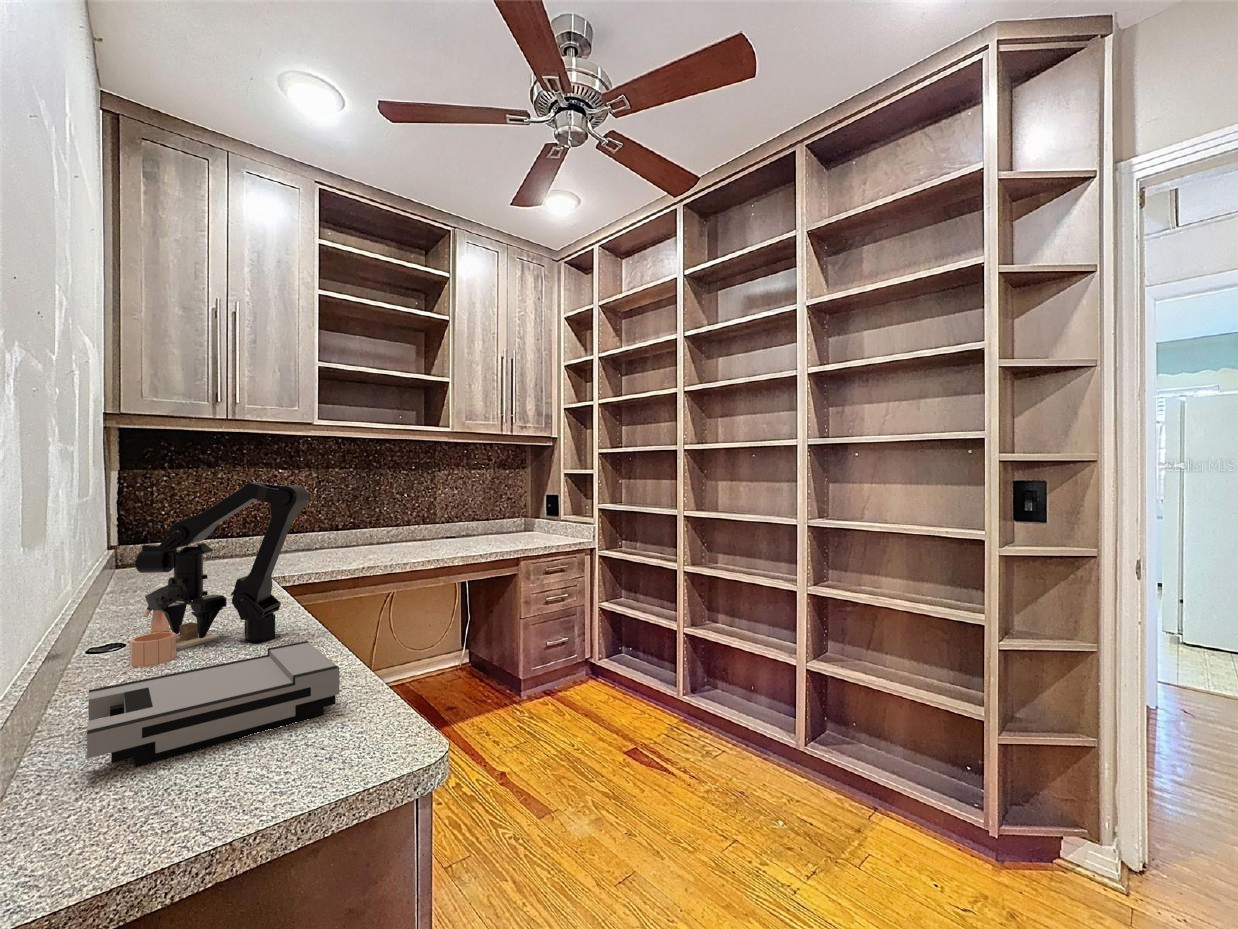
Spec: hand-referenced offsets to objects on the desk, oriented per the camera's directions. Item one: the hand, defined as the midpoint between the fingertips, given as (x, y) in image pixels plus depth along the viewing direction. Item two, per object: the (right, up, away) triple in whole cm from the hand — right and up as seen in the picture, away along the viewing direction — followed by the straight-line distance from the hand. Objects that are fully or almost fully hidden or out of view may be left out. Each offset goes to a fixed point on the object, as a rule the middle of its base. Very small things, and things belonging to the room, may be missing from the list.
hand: (188, 636), depth 139 cm
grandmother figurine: (-13, -2, +8) cm, 15 cm away
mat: (0, -2, 0) cm, 2 cm away
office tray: (+37, -2, -43) cm, 57 cm away
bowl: (+2, -2, -14) cm, 14 cm away
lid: (0, -1, 0) cm, 1 cm away
